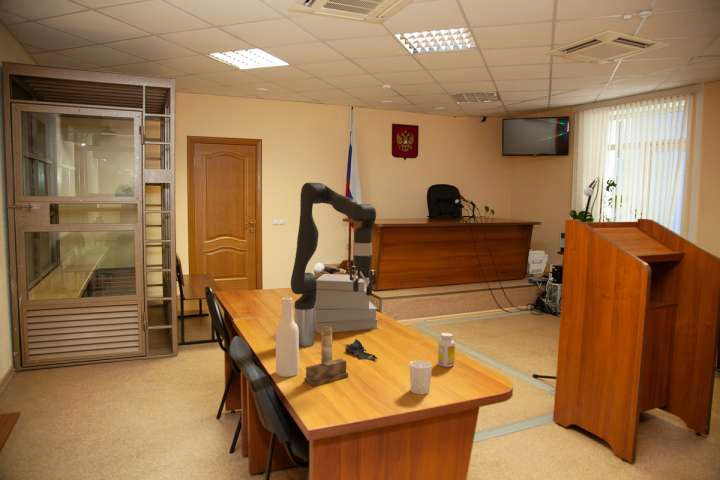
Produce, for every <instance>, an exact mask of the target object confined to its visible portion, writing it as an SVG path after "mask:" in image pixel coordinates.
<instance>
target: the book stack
mask: <svg viewBox="0 0 720 480" xmlns="http://www.w3.org/2000/svg"><path fill="white" fill-rule="evenodd" d="M352 277H353V275H352ZM316 282H317V291H316V302H315V305H314V332H315V333H317V334H318V335H322V327H325V326H329V327H332V334H333V333H344V332H350V331H351V332H352V331H362V330H363V331H364V330H365V331H366V330H374V329H375V330H376V329H379V327H378V321H379V318H377V310H378V308H377V307H376V306H375V305H374V303H372V301H370V295H369V296H367V295H366V286H367V285H366V283H365V282H364V280H363V279H360V280H359V281H358V283H359V291H358V292H354V291H353V282H352V280H350V274H339V273H338V274H337V273H323V274H321V276H319V277H318V278H317V279H316ZM368 283H369V281H368Z"/></svg>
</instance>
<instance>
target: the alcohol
mask: <svg viewBox="0 0 720 480" xmlns="http://www.w3.org/2000/svg"><path fill="white" fill-rule="evenodd" d="M280 315H281V317H280V322H279V323H278V324H277V325H276V329H275V373H276V374H277V376H279V377H280V378H281V377H282V378H292V377H295V376H297V375H298V373H299V367H300V365H299V360H300V359H299V356H300V355H299V354H300V352H299V350H300V349H299V347H300V346H299V330H298V326H297V324H296V323H295V319H294V312H293V298H292V297H290V296H289V297H282V299H281V314H280Z"/></svg>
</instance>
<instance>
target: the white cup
mask: <svg viewBox="0 0 720 480" xmlns="http://www.w3.org/2000/svg"><path fill="white" fill-rule="evenodd" d="M432 367H433V366H432V363H431V362H430V361H427V360H412V361H410V362H409V382H410V391H411V393H413V394H415V395H427V394H429V393H430V390H431V389H430V388H431V381H432V369H433V368H432Z"/></svg>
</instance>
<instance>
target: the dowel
mask: <svg viewBox="0 0 720 480" xmlns="http://www.w3.org/2000/svg"><path fill="white" fill-rule="evenodd" d="M320 352H321V362H320V364H322V365H324V366H329V365H332V361H333V333H332V327H329V326H325V327H322V334H321V351H320Z"/></svg>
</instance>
